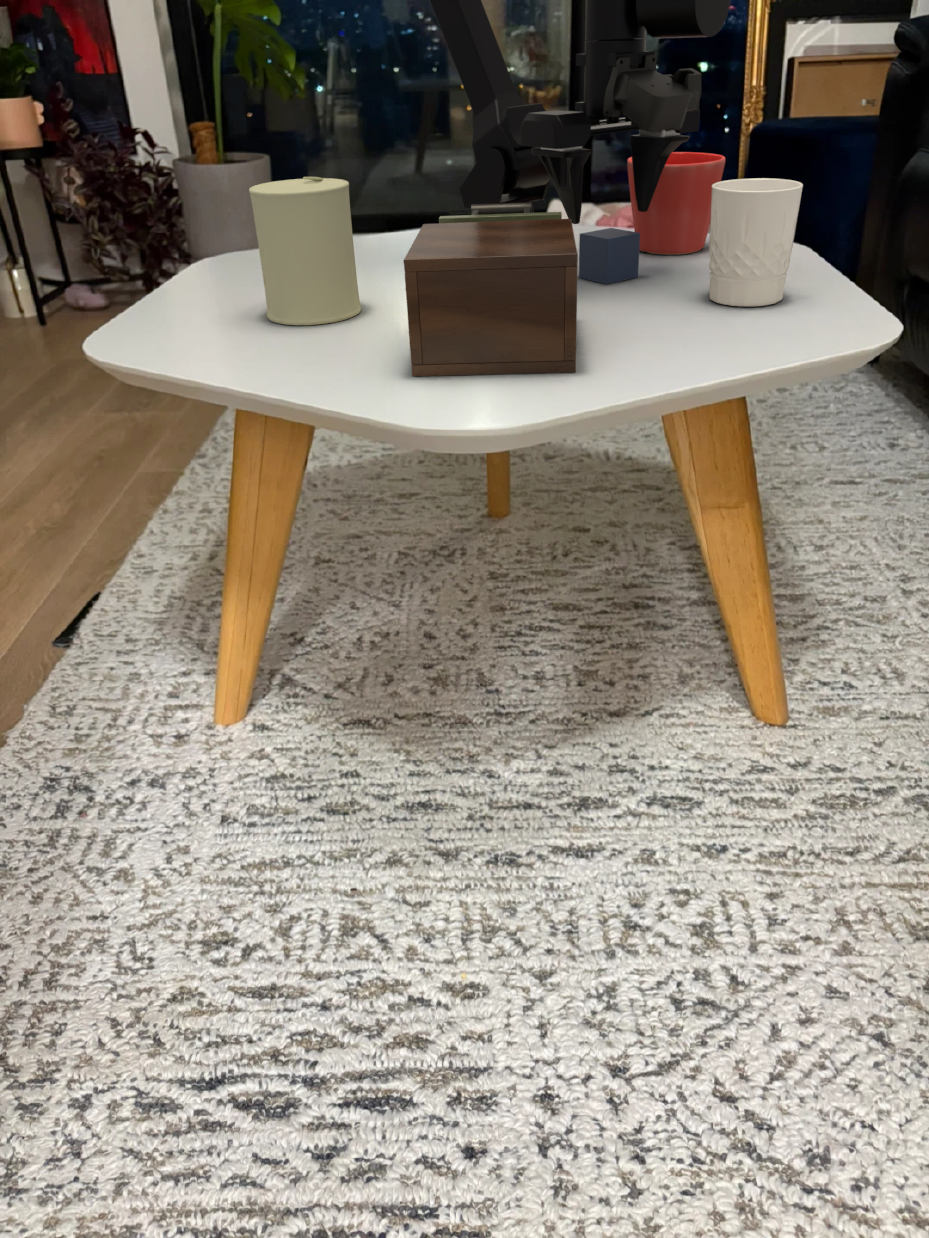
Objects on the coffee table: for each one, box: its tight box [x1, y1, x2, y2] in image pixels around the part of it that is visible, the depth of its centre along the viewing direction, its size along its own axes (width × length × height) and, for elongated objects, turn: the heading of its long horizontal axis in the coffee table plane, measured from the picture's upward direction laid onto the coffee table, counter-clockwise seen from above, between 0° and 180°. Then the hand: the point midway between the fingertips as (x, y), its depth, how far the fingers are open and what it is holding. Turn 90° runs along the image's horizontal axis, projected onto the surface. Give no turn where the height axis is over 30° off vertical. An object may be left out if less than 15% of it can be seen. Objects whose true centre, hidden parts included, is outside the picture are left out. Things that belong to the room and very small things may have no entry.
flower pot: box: [626, 151, 726, 256], centre depth 111 cm, size 11×11×10 cm
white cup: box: [708, 177, 804, 308], centre depth 90 cm, size 8×8×10 cm
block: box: [578, 227, 640, 285], centre depth 102 cm, size 4×4×4 cm
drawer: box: [438, 201, 563, 224], centre depth 91 cm, size 18×12×7 cm, turn 177°
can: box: [248, 176, 362, 326], centre depth 92 cm, size 9×9×12 cm
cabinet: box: [403, 218, 579, 377], centre depth 80 cm, size 15×13×9 cm
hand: (609, 217), depth 100 cm, fingers open, 9 cm apart
